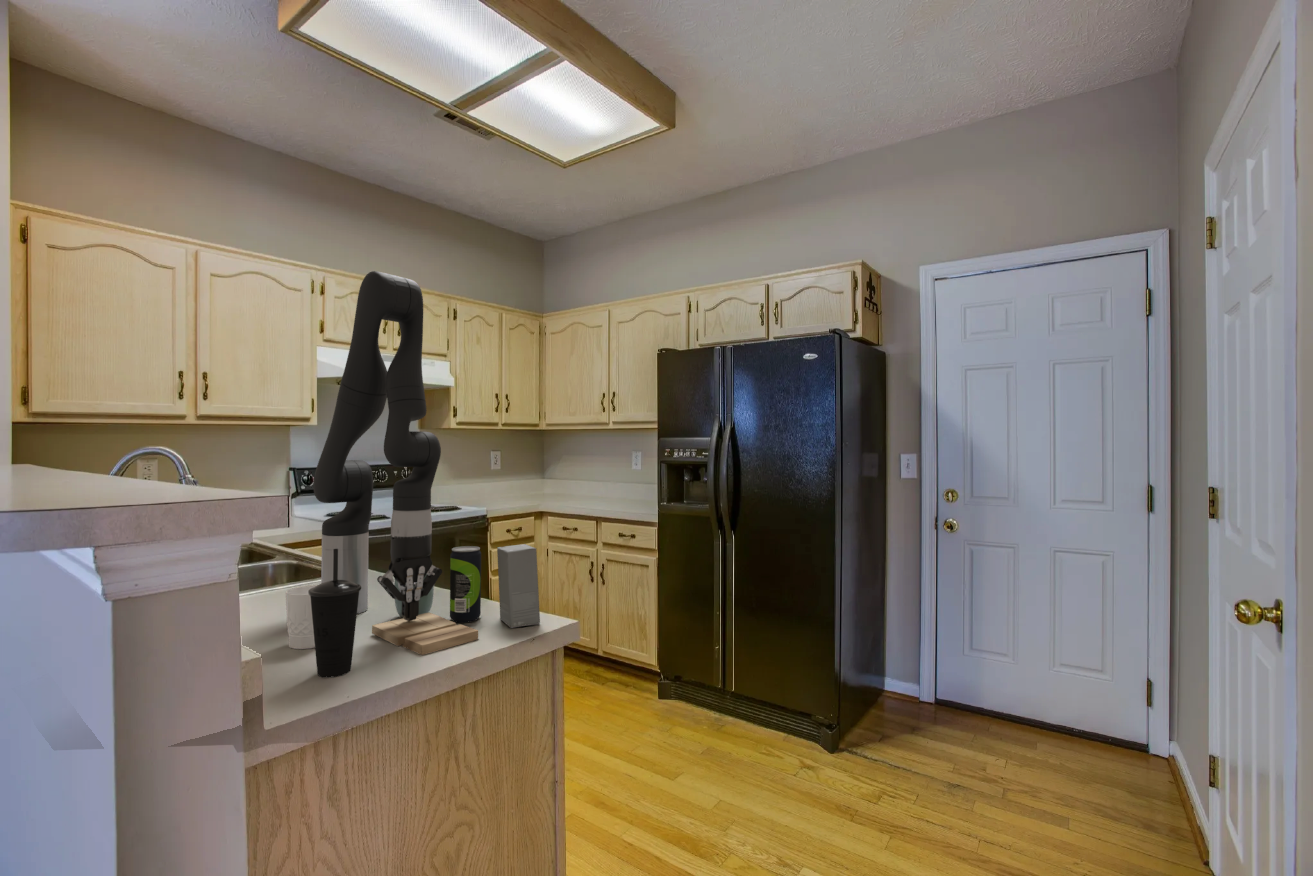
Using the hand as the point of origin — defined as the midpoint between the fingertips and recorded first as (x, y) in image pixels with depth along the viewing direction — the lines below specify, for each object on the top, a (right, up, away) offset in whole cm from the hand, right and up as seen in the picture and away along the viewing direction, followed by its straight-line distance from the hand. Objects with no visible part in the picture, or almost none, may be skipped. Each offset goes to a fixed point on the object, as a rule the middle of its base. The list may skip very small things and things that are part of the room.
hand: (409, 619), depth 121 cm
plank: (+1, -2, -1) cm, 3 cm away
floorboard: (+9, -2, -7) cm, 12 cm away
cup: (-3, -3, +10) cm, 11 cm away
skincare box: (+20, -3, +7) cm, 21 cm away
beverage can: (+8, -3, +9) cm, 12 cm away
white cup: (-15, -2, -8) cm, 17 cm away
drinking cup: (-4, -2, -22) cm, 22 cm away
